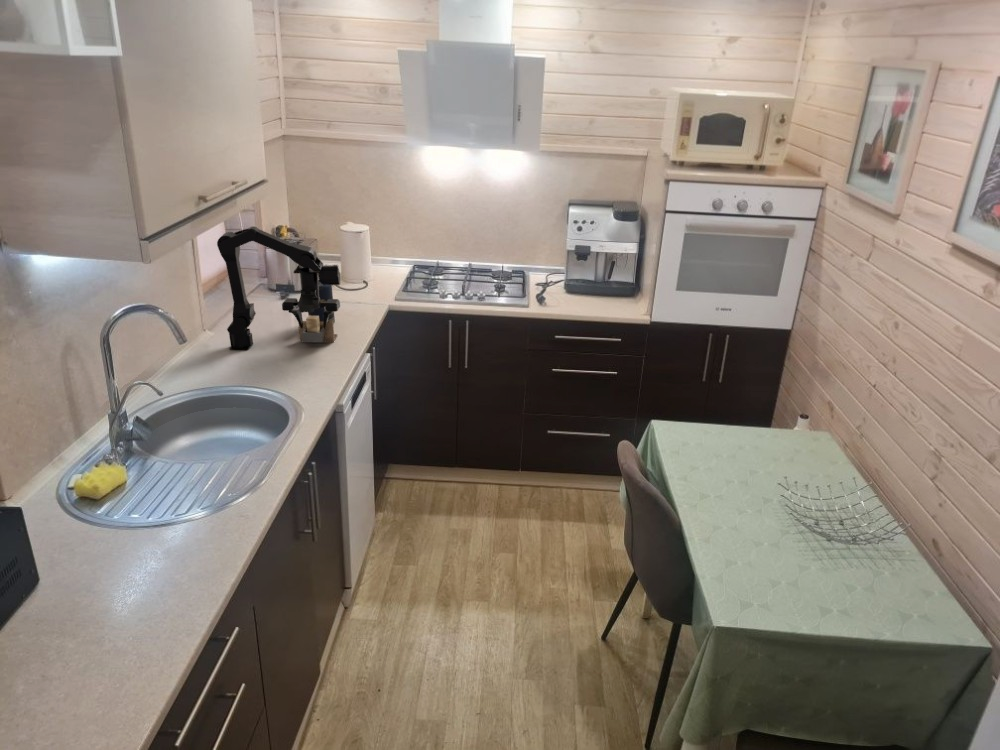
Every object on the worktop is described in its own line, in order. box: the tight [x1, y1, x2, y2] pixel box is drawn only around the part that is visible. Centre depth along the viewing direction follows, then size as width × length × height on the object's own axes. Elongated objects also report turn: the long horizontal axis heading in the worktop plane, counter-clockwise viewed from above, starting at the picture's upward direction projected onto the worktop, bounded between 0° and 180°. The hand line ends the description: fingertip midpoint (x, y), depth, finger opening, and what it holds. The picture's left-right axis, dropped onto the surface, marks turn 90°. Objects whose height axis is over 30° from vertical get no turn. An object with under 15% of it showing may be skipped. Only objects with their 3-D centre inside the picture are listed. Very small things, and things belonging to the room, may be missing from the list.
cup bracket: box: [298, 320, 338, 343], centre depth 249 cm, size 12×13×8 cm
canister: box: [307, 279, 336, 325], centre depth 263 cm, size 10×10×18 cm
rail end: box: [305, 316, 320, 332], centre depth 245 cm, size 4×4×7 cm
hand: (313, 328), depth 245 cm, fingers open, 8 cm apart
